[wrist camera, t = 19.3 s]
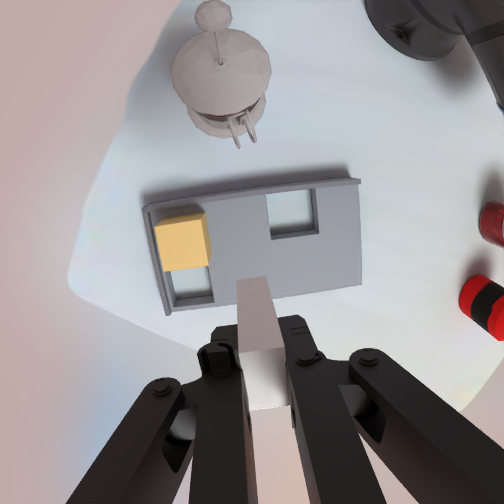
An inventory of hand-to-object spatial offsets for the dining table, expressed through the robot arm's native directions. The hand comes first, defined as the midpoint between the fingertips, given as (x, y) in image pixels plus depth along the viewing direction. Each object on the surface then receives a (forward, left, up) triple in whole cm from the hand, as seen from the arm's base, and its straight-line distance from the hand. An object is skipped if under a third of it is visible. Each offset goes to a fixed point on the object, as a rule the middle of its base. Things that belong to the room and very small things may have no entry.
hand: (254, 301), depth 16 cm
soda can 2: (+18, +38, -25) cm, 49 cm away
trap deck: (+3, +1, -24) cm, 25 cm away
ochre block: (+1, -7, -22) cm, 23 cm away
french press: (-14, 0, -25) cm, 28 cm away
